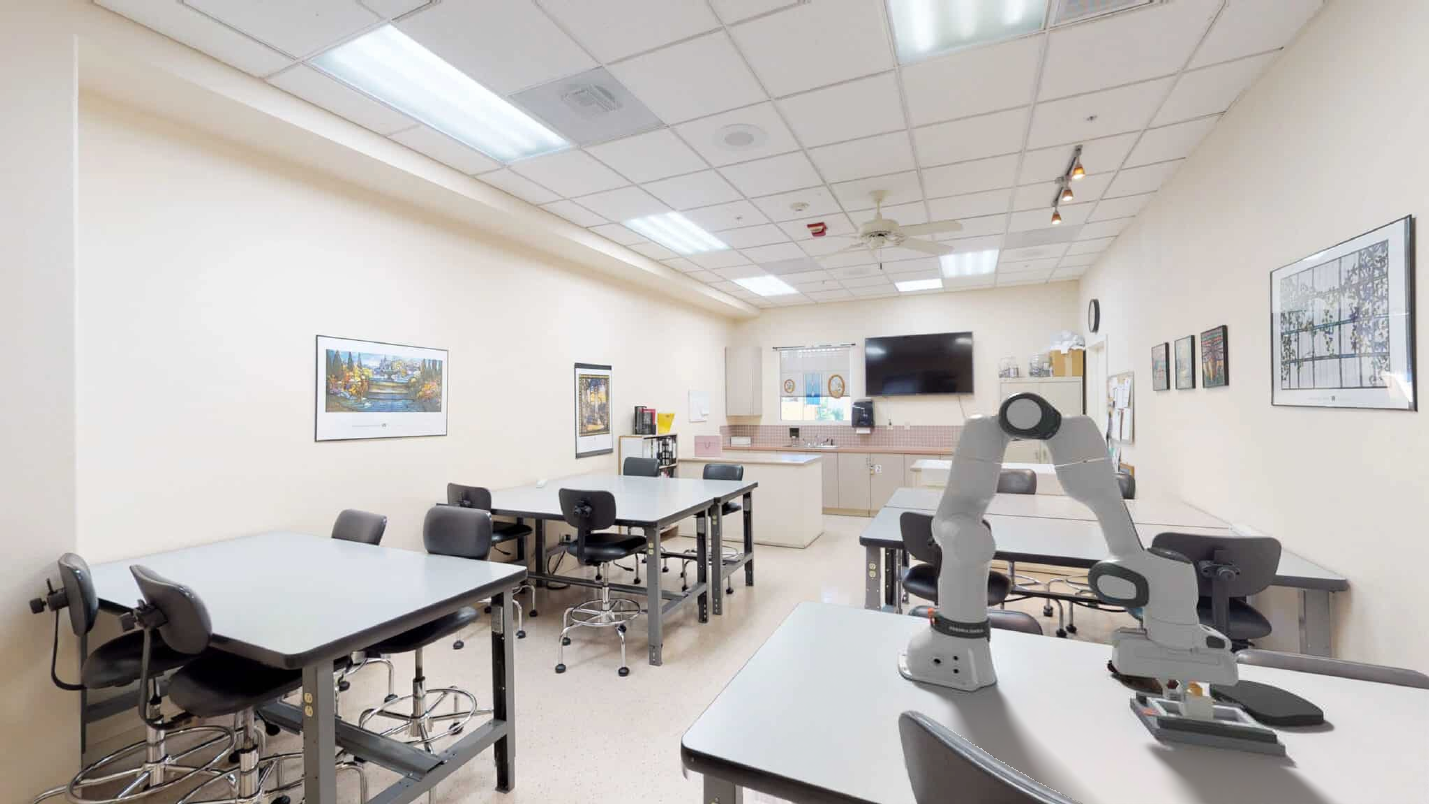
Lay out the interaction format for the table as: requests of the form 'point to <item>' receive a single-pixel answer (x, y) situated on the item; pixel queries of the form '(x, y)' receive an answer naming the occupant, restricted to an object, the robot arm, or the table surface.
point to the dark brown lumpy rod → (1143, 680)
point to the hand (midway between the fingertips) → (1173, 700)
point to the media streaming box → (1269, 704)
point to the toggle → (1196, 703)
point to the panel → (1203, 737)
